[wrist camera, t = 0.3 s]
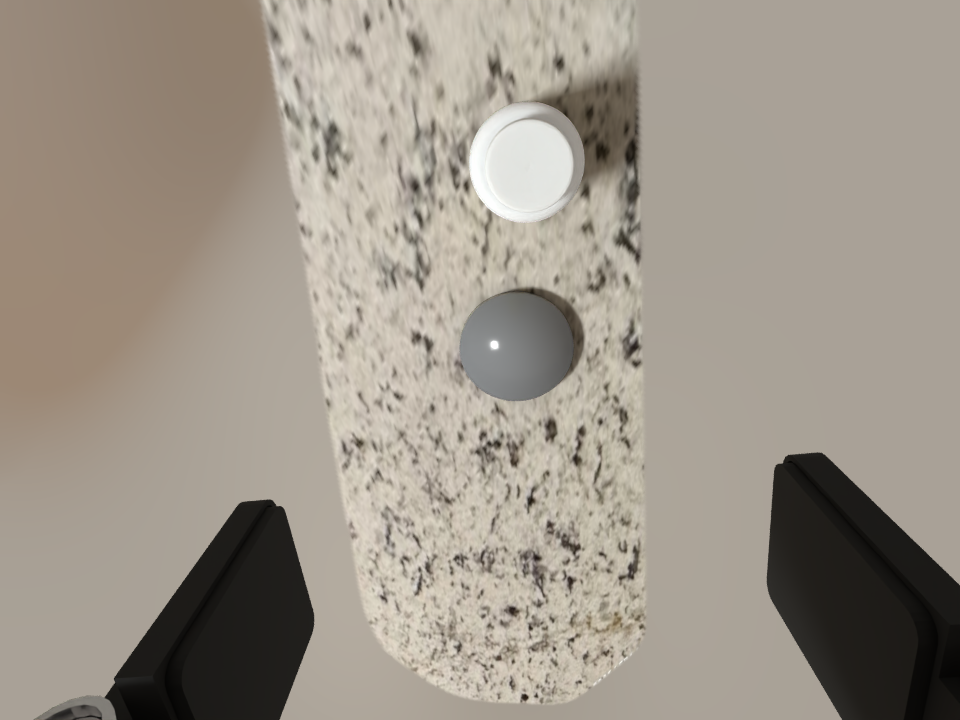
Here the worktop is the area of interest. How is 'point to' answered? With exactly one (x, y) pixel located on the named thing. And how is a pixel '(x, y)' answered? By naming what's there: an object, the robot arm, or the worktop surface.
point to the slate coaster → (516, 346)
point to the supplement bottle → (527, 161)
